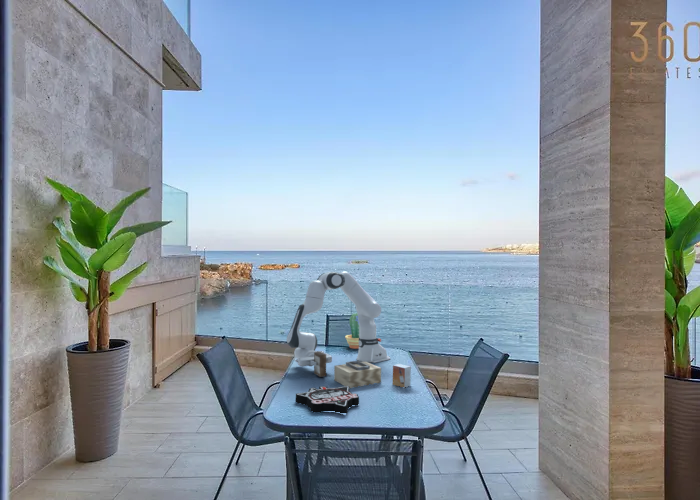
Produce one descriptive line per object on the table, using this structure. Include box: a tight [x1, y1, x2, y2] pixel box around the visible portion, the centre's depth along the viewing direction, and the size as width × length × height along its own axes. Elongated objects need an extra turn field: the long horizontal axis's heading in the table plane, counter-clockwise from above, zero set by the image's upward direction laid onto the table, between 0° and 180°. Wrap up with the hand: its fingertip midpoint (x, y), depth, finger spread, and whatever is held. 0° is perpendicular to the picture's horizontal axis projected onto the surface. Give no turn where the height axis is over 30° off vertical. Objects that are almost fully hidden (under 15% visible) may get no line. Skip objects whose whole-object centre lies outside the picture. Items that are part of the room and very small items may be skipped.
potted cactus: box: [344, 312, 359, 350], centre depth 322 cm, size 15×15×25 cm
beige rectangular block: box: [333, 360, 382, 389], centre depth 237 cm, size 20×16×10 cm
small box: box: [392, 363, 412, 389], centre depth 231 cm, size 8×6×10 cm
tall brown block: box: [313, 352, 327, 378], centre depth 245 cm, size 4×8×12 cm, turn 30°
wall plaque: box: [295, 385, 360, 414], centre depth 201 cm, size 28×4×30 cm
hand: (320, 363), depth 245 cm, fingers closed on tall brown block, 4 cm apart
